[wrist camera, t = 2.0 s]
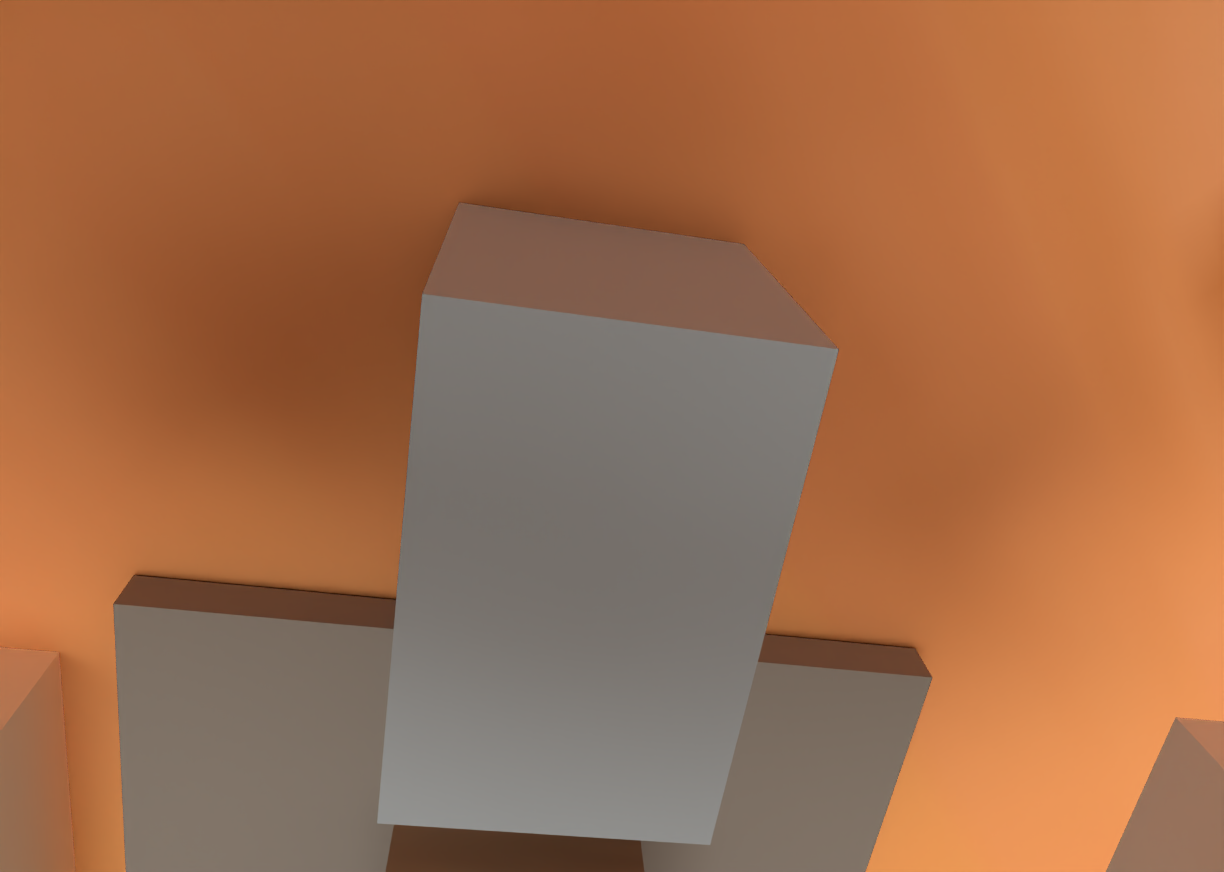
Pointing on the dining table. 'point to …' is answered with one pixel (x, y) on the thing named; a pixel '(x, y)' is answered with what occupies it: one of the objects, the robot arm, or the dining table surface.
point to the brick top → (591, 525)
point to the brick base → (507, 852)
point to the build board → (355, 728)
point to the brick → (33, 765)
